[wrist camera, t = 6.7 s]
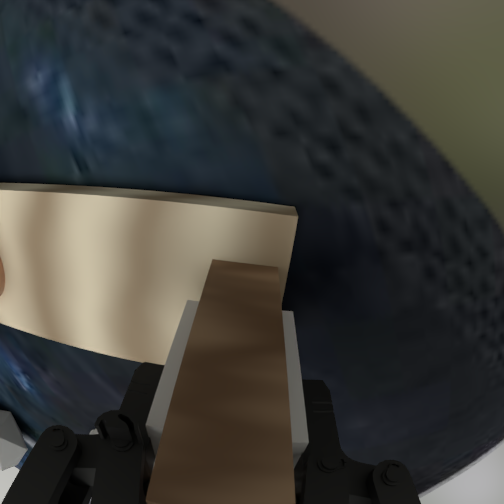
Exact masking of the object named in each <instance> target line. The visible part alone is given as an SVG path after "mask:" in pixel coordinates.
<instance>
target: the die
mask: <svg viewBox="0 0 504 504" xmlns="http://www.w3.org/2000/svg"><path fill="white" fill-rule="evenodd" d="M26 451H27V447H26V444H25V441H24V438H23V435H22V432H21V430H20V428H19V427H18V425H17V423H16V421H15V419H14V417H13V415H12V413H11V412H9V411H4V410H0V470H2V471H3V470H5V469H8V468H10V467H13V466H16V465H17V464H18V463H19V461H20V460H21V458H22V457H23V455H24V454H25V452H26Z"/></svg>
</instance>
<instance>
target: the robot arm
mask: <svg viewBox="0 0 504 504" xmlns="http://www.w3.org/2000/svg"><path fill="white" fill-rule="evenodd" d="M198 304H199V301H193V300H187V303H186V305H185V308H184V311H183V314H182V317H181V319H180V322H179V325H178V328H177V331H176V334H175V337H174V339H173V342H172V345H171V348H170V351H169V354H168V357H167V360H166V363H165V365H160V364H155V363H149V362H144V363H143V364H141V365H140V366H139V367H138V368H137V369H136V370H135V372H134V375H133V377H132V380H131V383H130V385H129V387H128V391H127V392H126V394H125V397H124V399H123V402H122V404H121V407H120V409H119V410H111V411H108V412H106V413H103V414H102V415H101V416H100V417H98V418H97V421H96V423H95V427H96V429H97V431H98V433H99V434H93V435H83V434H74V432H73V431H72V430H71V429H69V428H68V427H65V426H61V425H56V426H51V427H49V428H47V429H46V430H45V431H44V432H43V433H42V434H41V436H40V438H39V439H38V441H37V443H36V444H35V446H34V447H33V449H32V451H31V452H30V454H29V456H28V457H27V459H26V461H25V463H24V464H23V466H22V468H21V469H20V471H19V473H18V475H17V476H16V478H15V480H14V482H13V483H12V485H11V487H10V489H9V491H8V492H7V494H6V496H5V498H4V500H3V502H2V504H89V501H90V499H91V504H147V502H146V495H147V491H148V487H149V483H150V479H151V475H152V471H153V466H154V462H155V459H156V455H157V451H158V447H159V443H160V439H161V435H162V431H163V428H164V424H165V420H166V416H167V412H168V409H169V405H170V401H171V398H172V394H173V390H174V387H175V383H176V380H177V376H178V373H179V369H180V365H181V362H182V358H183V355H184V351H185V348H186V345H187V341H188V338H189V334H190V331H191V328H192V324H193V321H194V317H195V314H196V311H197V307H198ZM282 316H283V328H284V340H285V352H286V364H287V377H288V390H289V404H290V418H291V433H292V449H293V465H294V483H295V503H296V504H421V503H420V500H419V497H418V494H417V492H416V489H415V486H414V484H413V481H412V478H411V476H410V473H409V471H408V469H407V468H406V466H405V465H403V464H402V463H401V462H398V461H395V460H385V461H383V462H380V463H379V464H378V465H377V466H375V465H370V464H365V463H360V462H357V461H354V460H352V459H350V458H349V457H347V456H346V455H345V454H344V452H343V451H342V449H341V447H340V443H339V438H338V432H337V427H336V421H335V416H334V413H333V405H332V400H331V395H330V390H329V389H328V387H327V386H326V385H325V383H324V382H323V380H303V379H302V378H301V369H300V361H299V354H298V346H297V338H296V331H295V323H294V316H293V311H282ZM91 497H92V498H91Z"/></svg>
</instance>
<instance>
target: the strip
mask: <svg viewBox="0 0 504 504" xmlns="http://www.w3.org/2000/svg"><path fill="white" fill-rule="evenodd" d="M297 221H298V215H297V212H296V209H295V207H293V206H285V205H278V204H270V203H262V202H254V201H246V200H238V199H229V198H220V197H211V196H202V195H192V194H182V193H171V192H160V191H149V190H136V189H123V188H109V187H93V186H76V185H55V184H28V183H0V257H1V260H2V264H3V267H4V273H5V288H4V291H3V293H2V295H1V296H0V323H2V324H5V325H8V326H11V327H13V328H16V329H19V330H22V331H25V332H28V333H31V334H34V335H37V336H41V337H44V338H47V339H50V340H54V341H57V342H60V343H64V344H67V345H71V346H75V347H78V348H82V349H86V350H90V351H94V352H98V353H102V354H106V355H110V356H115V357H119V358H124V359H128V360H133V361H138V362H143V363H144V362H149V363H155V364H160V365H165V363H166V360H167V357H168V354H169V351H170V348H171V345H172V342H173V339H174V337H175V334H176V331H177V328H178V325H179V322H180V319H181V317H182V314H183V311H184V308H185V305H186V303H187V300H193V301H199V304H198V307H197V311H196V314H195V317H194V321H193V324H192V328H191V331H190V334H189V338H188V341H187V345H186V348H185V351H184V355H183V358H182V362H181V365H180V369H179V373H178V376H177V380H176V383H175V387H174V390H173V394H172V398H171V401H170V405H169V409H168V412H167V416H166V420H165V424H164V428H163V431H162V435H161V439H160V443H159V447H158V451H157V455H156V459H155V463H154V467H153V471H152V475H151V479H150V483H149V487H148V491H147V495H146V502H147V504H296V503H295V483H294V465H293V449H292V433H291V418H290V404H289V390H288V377H287V364H286V352H285V340H284V328H283V316H282V300H283V295H284V290H285V285H286V280H287V274H288V269H289V264H290V259H291V254H292V248H293V243H294V237H295V232H296V226H297Z"/></svg>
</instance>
